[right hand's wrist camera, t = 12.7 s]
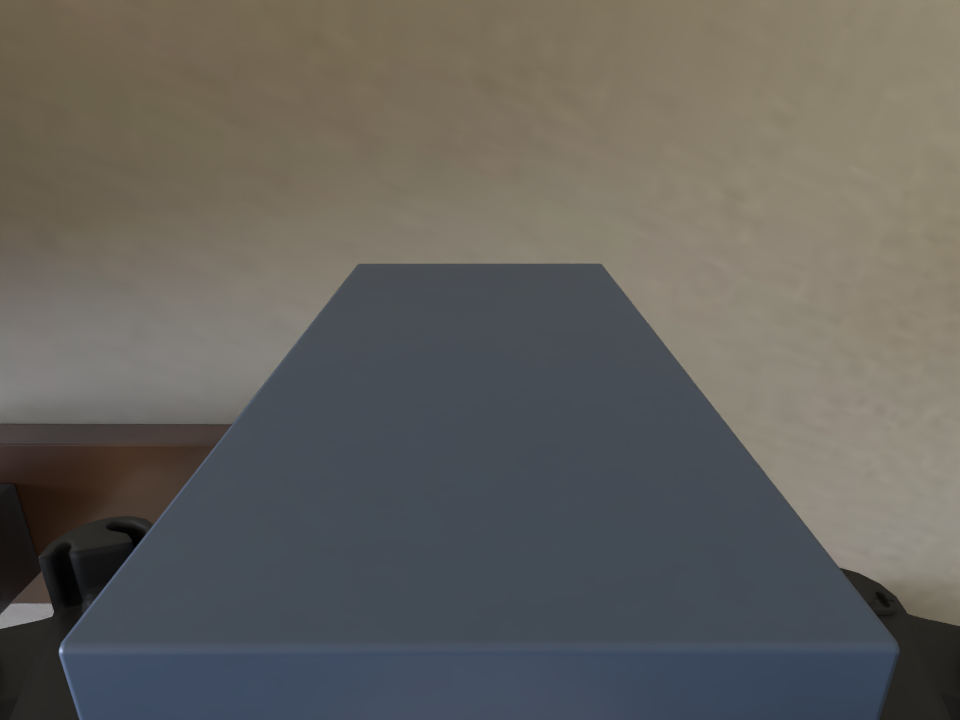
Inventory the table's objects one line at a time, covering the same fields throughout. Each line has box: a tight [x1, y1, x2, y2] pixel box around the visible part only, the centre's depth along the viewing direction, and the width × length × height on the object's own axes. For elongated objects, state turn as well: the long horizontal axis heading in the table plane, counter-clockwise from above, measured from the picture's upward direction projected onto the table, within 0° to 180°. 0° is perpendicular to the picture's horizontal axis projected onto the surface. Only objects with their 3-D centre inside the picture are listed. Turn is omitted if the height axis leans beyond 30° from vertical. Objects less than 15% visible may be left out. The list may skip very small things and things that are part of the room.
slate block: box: [59, 264, 900, 720], centre depth 11 cm, size 6×6×12 cm
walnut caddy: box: [0, 424, 232, 614], centre depth 27 cm, size 28×9×10 cm, turn 90°
